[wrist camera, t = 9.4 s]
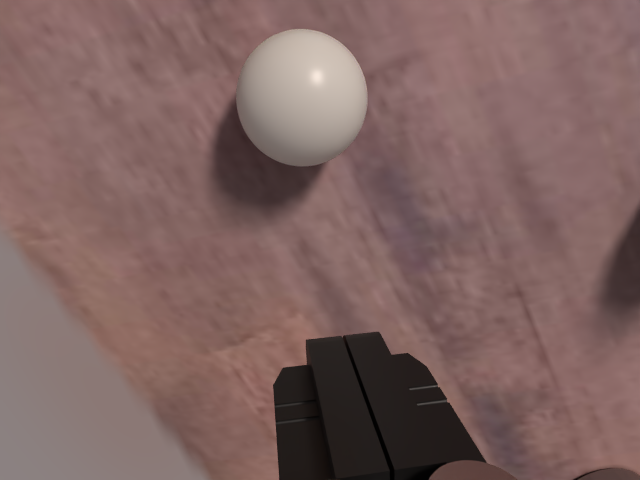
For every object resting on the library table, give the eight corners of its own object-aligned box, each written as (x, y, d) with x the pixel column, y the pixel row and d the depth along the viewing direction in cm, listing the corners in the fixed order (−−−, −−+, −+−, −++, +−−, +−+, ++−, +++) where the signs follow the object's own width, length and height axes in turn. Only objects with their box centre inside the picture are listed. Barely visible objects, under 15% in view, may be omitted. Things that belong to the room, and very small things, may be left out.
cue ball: (409, 135, 20) (376, 42, 23) (308, 74, 16) (283, -29, 19) (317, 203, 24) (298, 116, 26) (215, 168, 20) (205, 69, 22)
